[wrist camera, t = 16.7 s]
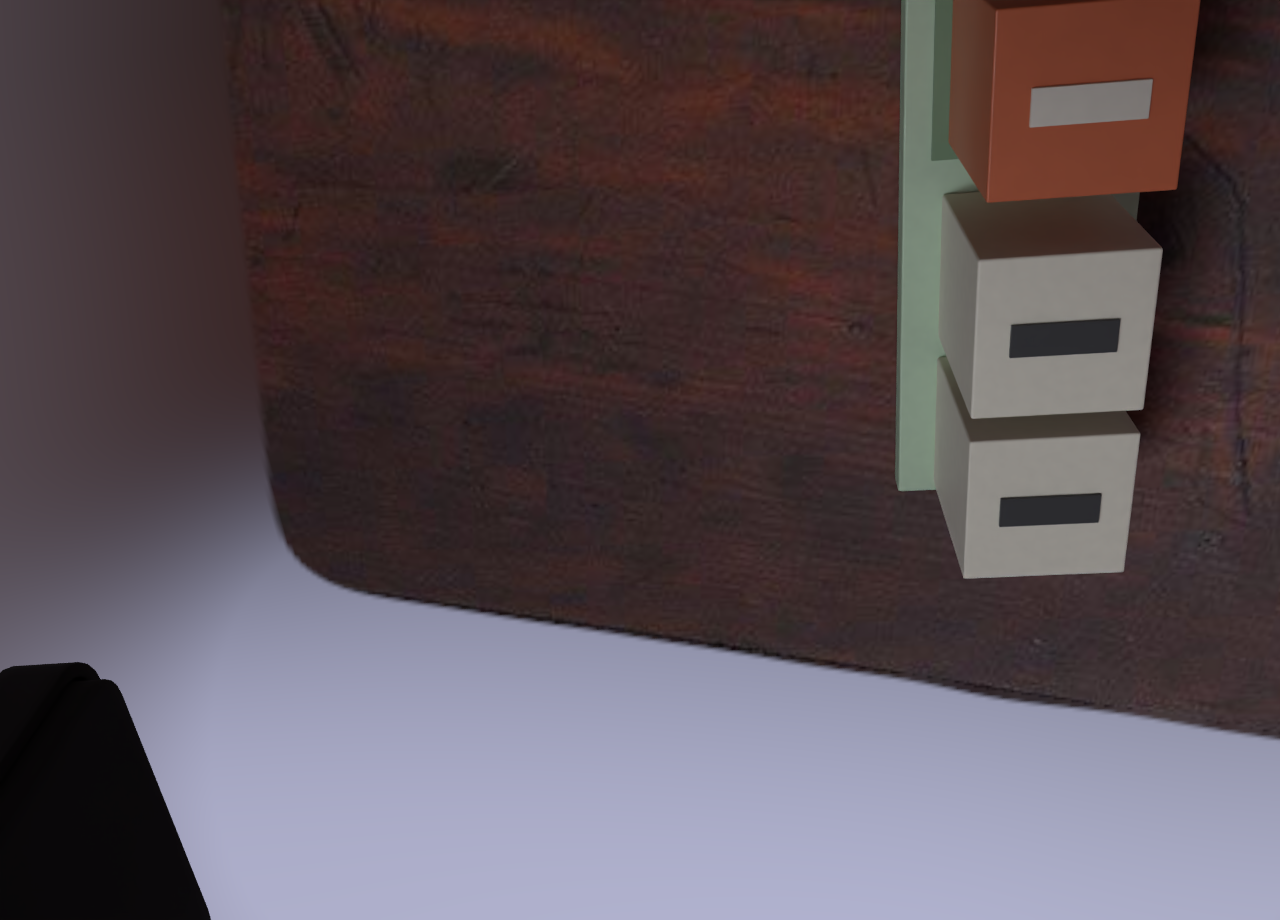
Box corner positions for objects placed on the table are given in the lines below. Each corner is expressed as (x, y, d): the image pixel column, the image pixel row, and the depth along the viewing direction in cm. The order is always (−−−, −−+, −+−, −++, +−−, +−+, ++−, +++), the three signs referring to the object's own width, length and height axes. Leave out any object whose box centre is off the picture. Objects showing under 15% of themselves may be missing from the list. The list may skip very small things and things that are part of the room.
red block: (953, -26, 29) (996, 9, 24) (1128, -41, 28) (1204, -7, 24) (948, 143, 31) (987, 205, 26) (1111, 131, 30) (1179, 191, 26)
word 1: (894, 478, 36) (923, 592, 31) (901, -61, 29) (940, -28, 24) (1100, 468, 36) (1165, 583, 31) (1159, -85, 29) (1256, -56, 24)
